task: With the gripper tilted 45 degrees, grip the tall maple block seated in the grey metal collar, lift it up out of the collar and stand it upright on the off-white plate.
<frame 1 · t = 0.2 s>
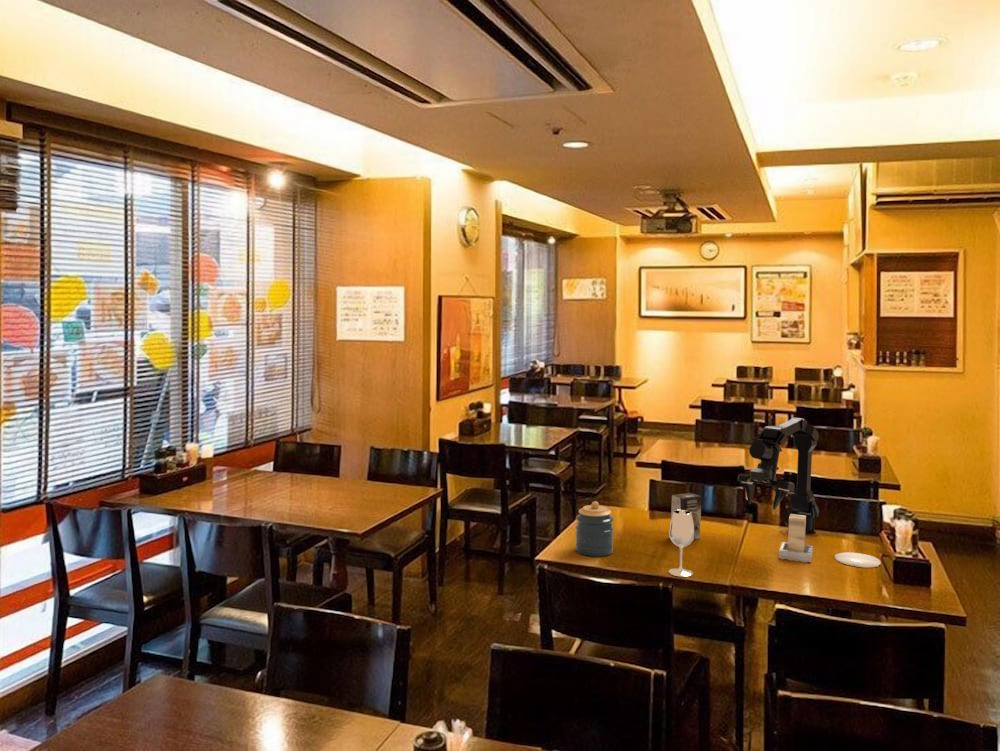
hand: (761, 506, 278), 15 cm above the table, tool tilted 15°, fingers open, 9 cm apart
wineglass: (680, 573, 255), on the table
coffee box: (685, 538, 292), on the table
metal collar: (795, 556, 272), on the table
plate: (857, 560, 268), on the table
canister: (594, 551, 277), on the table
maple block: (796, 536, 271), in the metal collar
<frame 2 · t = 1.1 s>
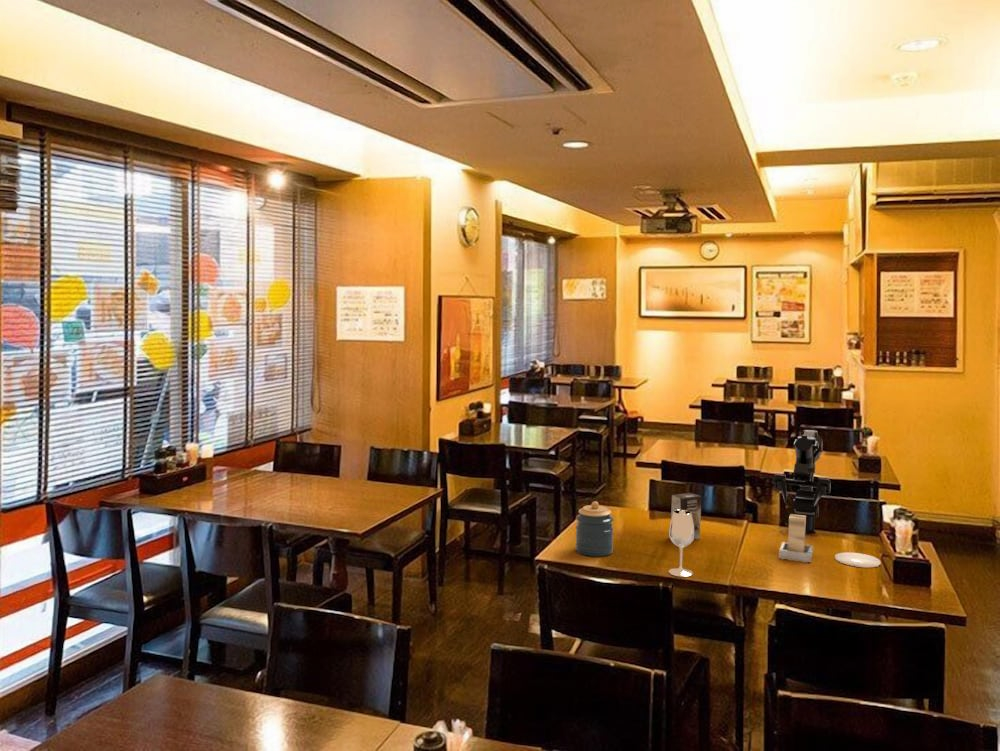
hand: (799, 504, 278), 16 cm above the table, tool tilted 45°, fingers open, 9 cm apart
nothing on the table moved.
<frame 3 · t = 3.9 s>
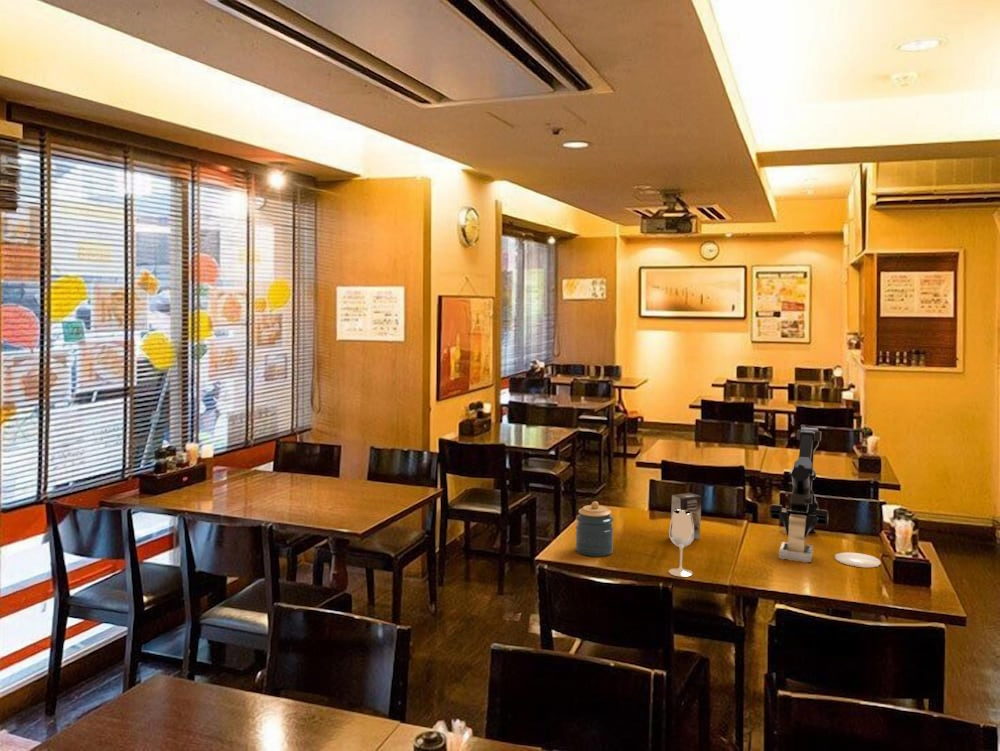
hand: (796, 535, 270), 8 cm above the table, tool tilted 45°, fingers closed on maple block, 5 cm apart
maple block: (796, 536, 271), in the metal collar, touching gripper
everything else where it was.
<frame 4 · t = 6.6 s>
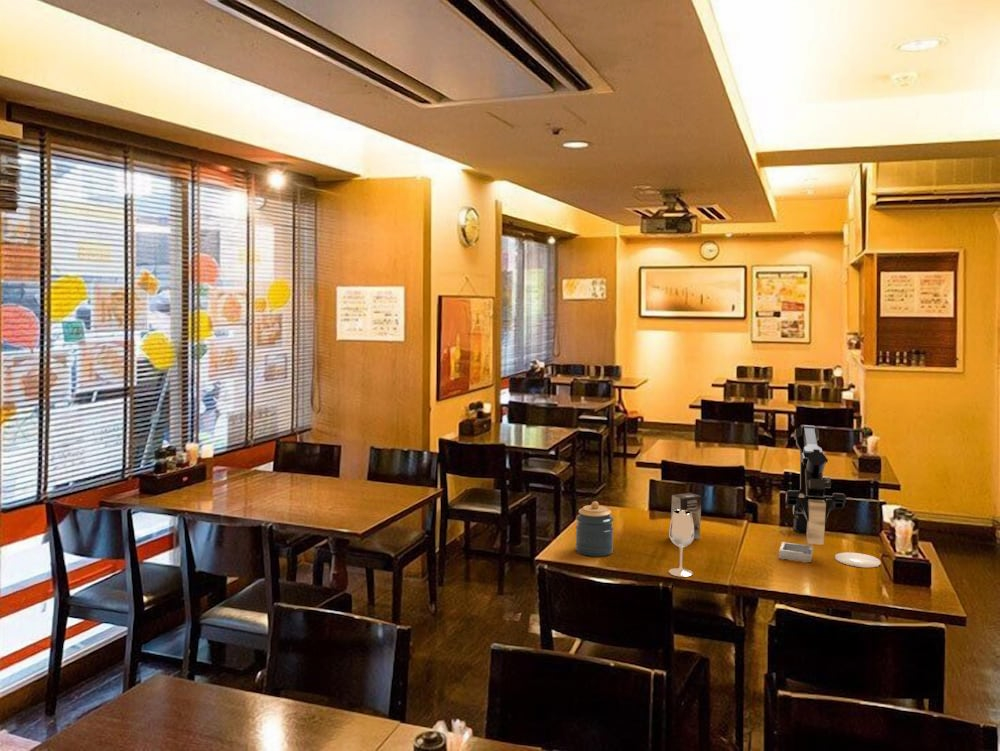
hand: (816, 521, 267), 13 cm above the table, tool tilted 45°, fingers closed on maple block, 5 cm apart
maple block: (815, 521, 268), point 13 cm above the table, touching gripper
everything else where it was.
when the fingers open (10 cm above the table, at t = 9.1 s): maple block drops 1 cm, resting on plate.
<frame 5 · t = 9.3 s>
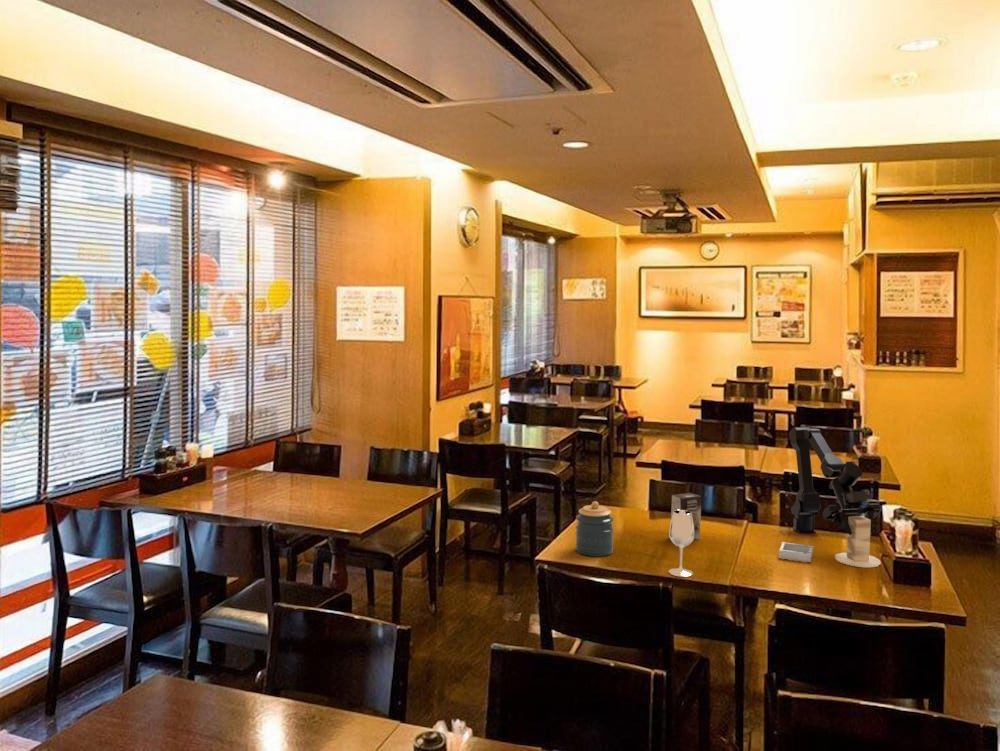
hand: (861, 533, 266), 10 cm above the table, tool tilted 45°, fingers open, 7 cm apart
maple block: (858, 538, 267), on the plate, point 8 cm above the table
everything else where it was.
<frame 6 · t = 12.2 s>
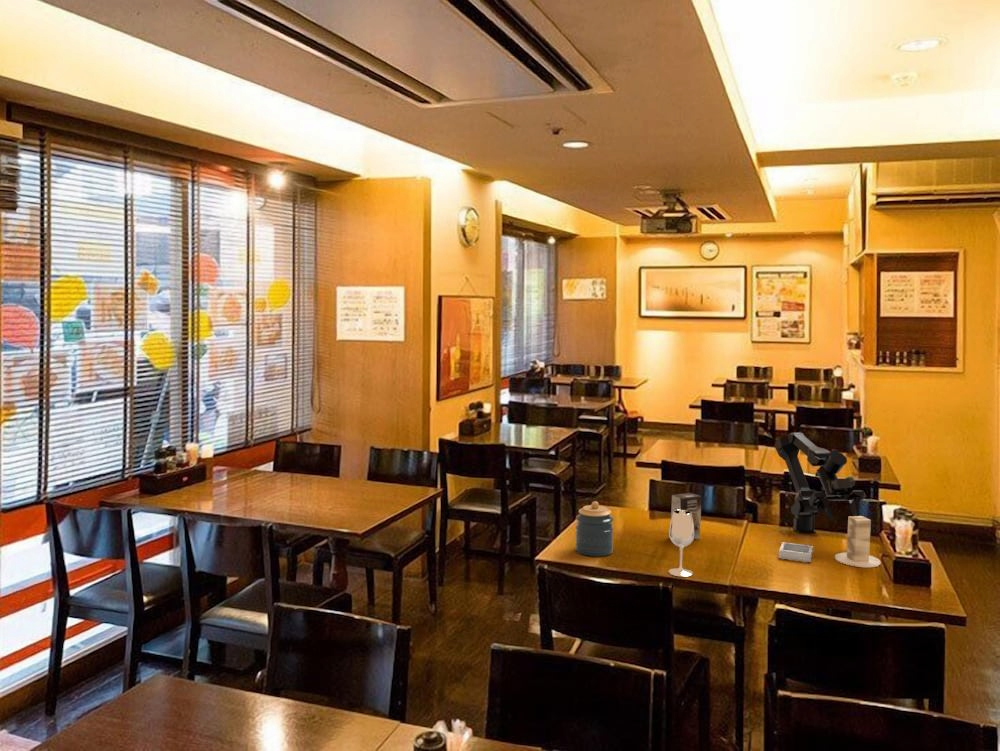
hand: (845, 519, 275), 12 cm above the table, tool tilted 45°, fingers open, 9 cm apart
nothing on the table moved.
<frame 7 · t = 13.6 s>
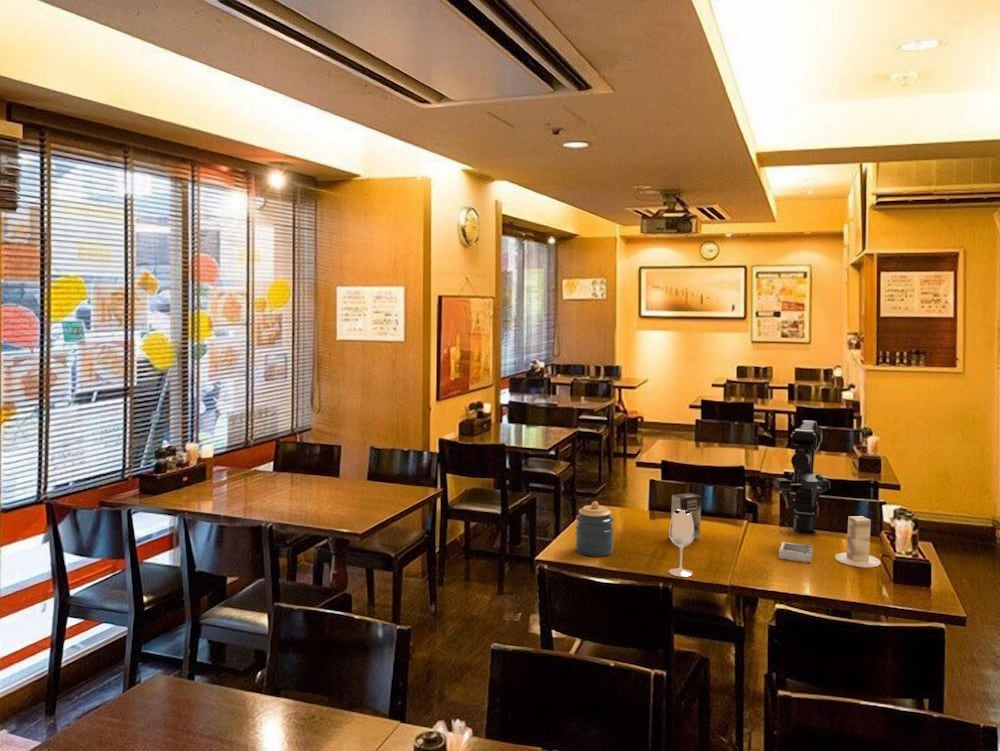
hand: (800, 506, 287), 13 cm above the table, tool pointing down, fingers open, 9 cm apart
nothing on the table moved.
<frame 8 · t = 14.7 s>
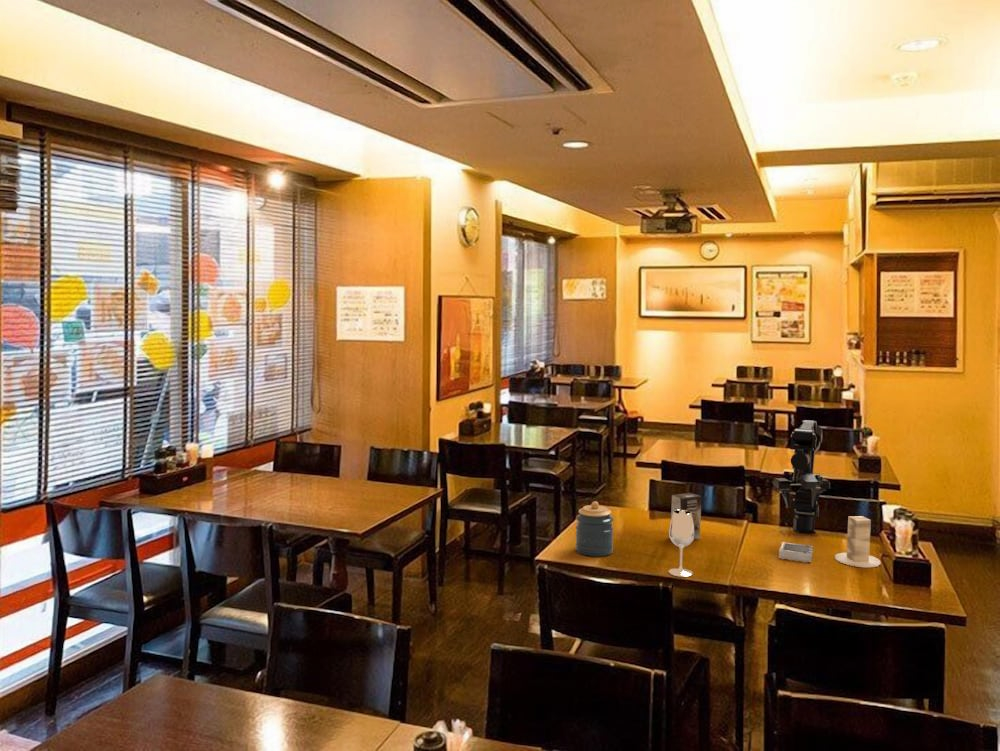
hand: (800, 506, 287), 13 cm above the table, tool pointing down, fingers open, 9 cm apart
nothing on the table moved.
at the end: maple block 0.0 cm from the plate (horizontally); maple block tilted 0°; maple block touching plate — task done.
